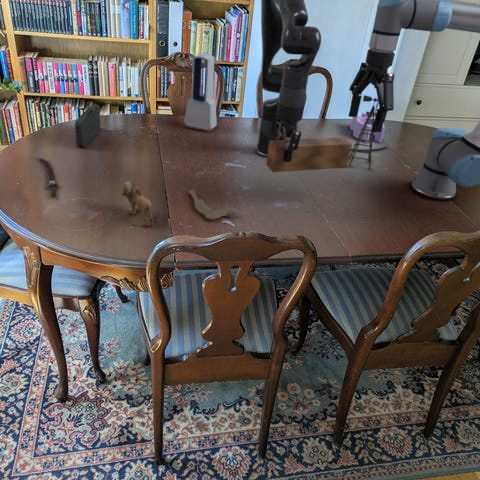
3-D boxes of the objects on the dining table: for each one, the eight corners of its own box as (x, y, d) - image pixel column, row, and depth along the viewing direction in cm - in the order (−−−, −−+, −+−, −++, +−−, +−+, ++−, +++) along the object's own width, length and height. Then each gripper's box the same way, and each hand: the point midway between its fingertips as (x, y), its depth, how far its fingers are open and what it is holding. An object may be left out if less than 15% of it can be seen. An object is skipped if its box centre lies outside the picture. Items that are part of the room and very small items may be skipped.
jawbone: (218, 227, 136) (218, 221, 134) (170, 202, 146) (169, 197, 145) (238, 214, 141) (238, 209, 140) (190, 191, 152) (190, 186, 151)
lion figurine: (118, 210, 138) (116, 182, 133) (132, 204, 141) (131, 177, 137) (151, 229, 130) (150, 201, 126) (165, 223, 134) (165, 195, 129)
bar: (272, 172, 141) (276, 147, 136) (266, 164, 145) (269, 140, 140) (346, 167, 149) (352, 143, 144) (338, 160, 153) (343, 137, 148)
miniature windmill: (370, 170, 181) (390, 92, 164) (348, 166, 182) (366, 88, 166) (369, 161, 188) (389, 86, 172) (348, 157, 189) (366, 82, 173)
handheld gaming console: (94, 127, 192) (92, 103, 187) (101, 127, 192) (99, 103, 187) (76, 147, 173) (73, 121, 167) (83, 148, 173) (80, 122, 167)
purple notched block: (343, 126, 223) (346, 112, 219) (367, 127, 225) (371, 113, 221) (360, 142, 206) (364, 127, 202) (386, 142, 209) (390, 127, 205)
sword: (61, 197, 141) (61, 193, 140) (50, 198, 139) (50, 194, 139) (49, 160, 164) (48, 156, 163) (39, 160, 163) (39, 157, 162)
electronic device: (216, 128, 205) (221, 56, 188) (210, 133, 198) (214, 59, 182) (190, 122, 207) (193, 51, 191) (183, 127, 201) (185, 54, 185)
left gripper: (314, 110, 128) (304, 166, 138) (293, 94, 140) (285, 147, 149) (289, 110, 126) (280, 167, 135) (270, 94, 137) (263, 148, 147)
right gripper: (420, 61, 122) (398, 138, 133) (369, 41, 141) (353, 110, 153) (396, 60, 120) (376, 139, 131) (347, 40, 139) (333, 110, 150)
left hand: (283, 156), depth 142 cm, fingers closed on bar, 5 cm apart
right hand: (364, 123), depth 142 cm, fingers open, 13 cm apart
